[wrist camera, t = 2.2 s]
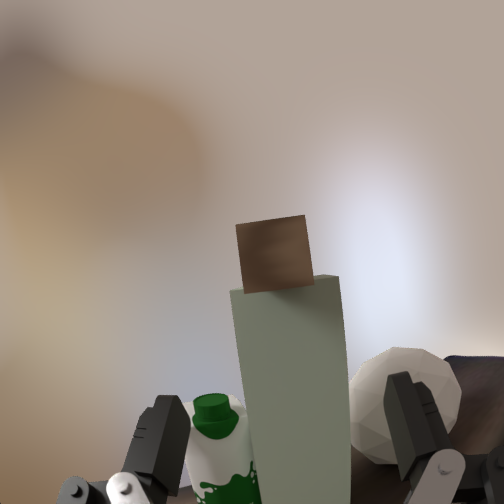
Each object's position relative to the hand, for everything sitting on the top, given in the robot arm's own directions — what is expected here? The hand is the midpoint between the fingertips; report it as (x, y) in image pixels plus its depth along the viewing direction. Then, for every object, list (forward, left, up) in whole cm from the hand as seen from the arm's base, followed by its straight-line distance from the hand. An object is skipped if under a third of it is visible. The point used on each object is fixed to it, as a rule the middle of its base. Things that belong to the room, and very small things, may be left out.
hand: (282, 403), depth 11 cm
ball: (+16, +34, -28) cm, 47 cm away
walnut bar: (0, +17, +4) cm, 18 cm away
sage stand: (0, +21, -28) cm, 35 cm away
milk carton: (-10, +23, -28) cm, 38 cm away
